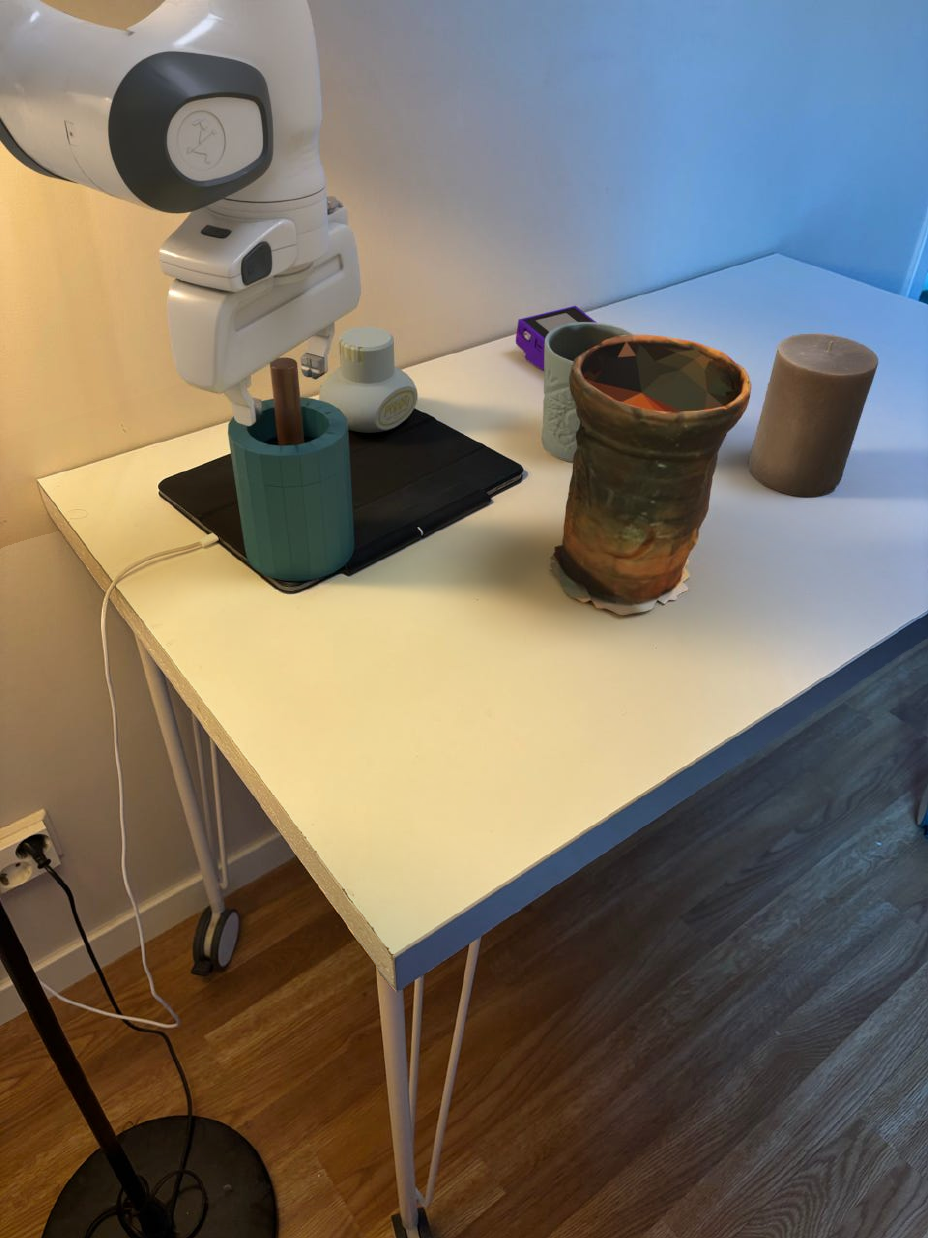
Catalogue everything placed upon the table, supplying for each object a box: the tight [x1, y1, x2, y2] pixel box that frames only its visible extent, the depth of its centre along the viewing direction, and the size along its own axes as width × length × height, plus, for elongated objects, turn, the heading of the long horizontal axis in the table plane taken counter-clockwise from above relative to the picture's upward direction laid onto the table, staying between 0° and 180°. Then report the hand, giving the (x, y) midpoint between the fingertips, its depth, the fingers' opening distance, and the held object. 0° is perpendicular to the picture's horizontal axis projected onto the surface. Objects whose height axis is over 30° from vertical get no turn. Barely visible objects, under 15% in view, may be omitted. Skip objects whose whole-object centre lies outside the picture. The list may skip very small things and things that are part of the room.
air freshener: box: [318, 325, 419, 434], centre depth 105 cm, size 11×8×10 cm
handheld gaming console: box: [515, 305, 598, 372], centre depth 118 cm, size 9×5×15 cm
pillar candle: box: [747, 332, 879, 498], centre depth 97 cm, size 10×10×15 cm
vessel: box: [548, 334, 752, 616], centre depth 82 cm, size 14×14×20 cm
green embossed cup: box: [541, 321, 635, 464], centre depth 101 cm, size 10×10×12 cm
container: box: [227, 396, 355, 582], centre depth 85 cm, size 10×10×13 cm
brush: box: [269, 357, 304, 446], centre depth 83 cm, size 4×4×18 cm
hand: (283, 397), depth 79 cm, fingers open, 8 cm apart
